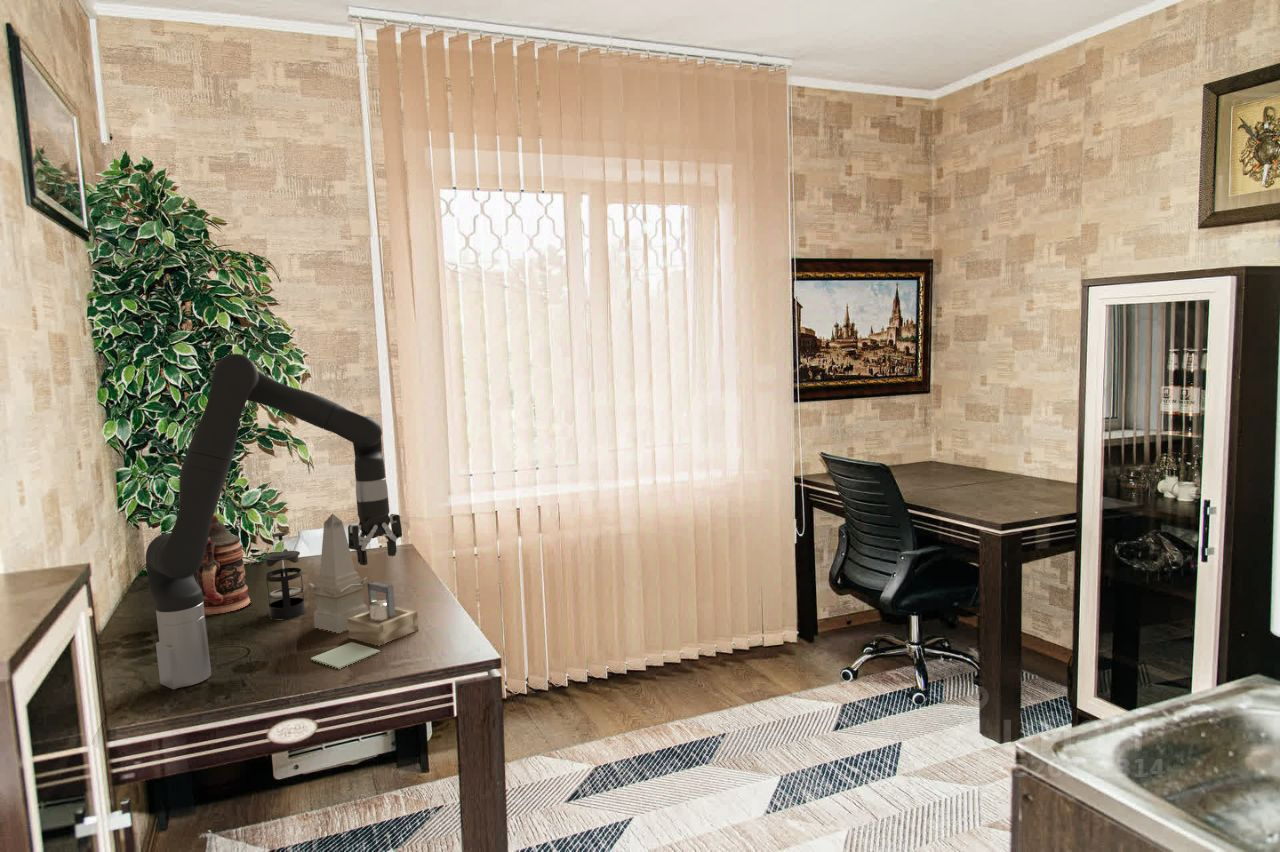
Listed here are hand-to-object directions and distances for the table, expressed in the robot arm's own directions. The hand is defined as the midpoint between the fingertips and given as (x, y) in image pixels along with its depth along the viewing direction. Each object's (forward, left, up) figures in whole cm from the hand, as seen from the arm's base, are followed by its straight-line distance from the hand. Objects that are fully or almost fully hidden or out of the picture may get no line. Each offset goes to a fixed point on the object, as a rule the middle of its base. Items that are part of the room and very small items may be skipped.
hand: (377, 560), depth 199 cm
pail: (0, 0, -19) cm, 19 cm away
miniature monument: (-1, +16, -20) cm, 25 cm away
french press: (-3, +38, -19) cm, 43 cm away
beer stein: (-10, +60, -20) cm, 64 cm away
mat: (-14, -4, -19) cm, 24 cm away
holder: (0, 0, -19) cm, 19 cm away
